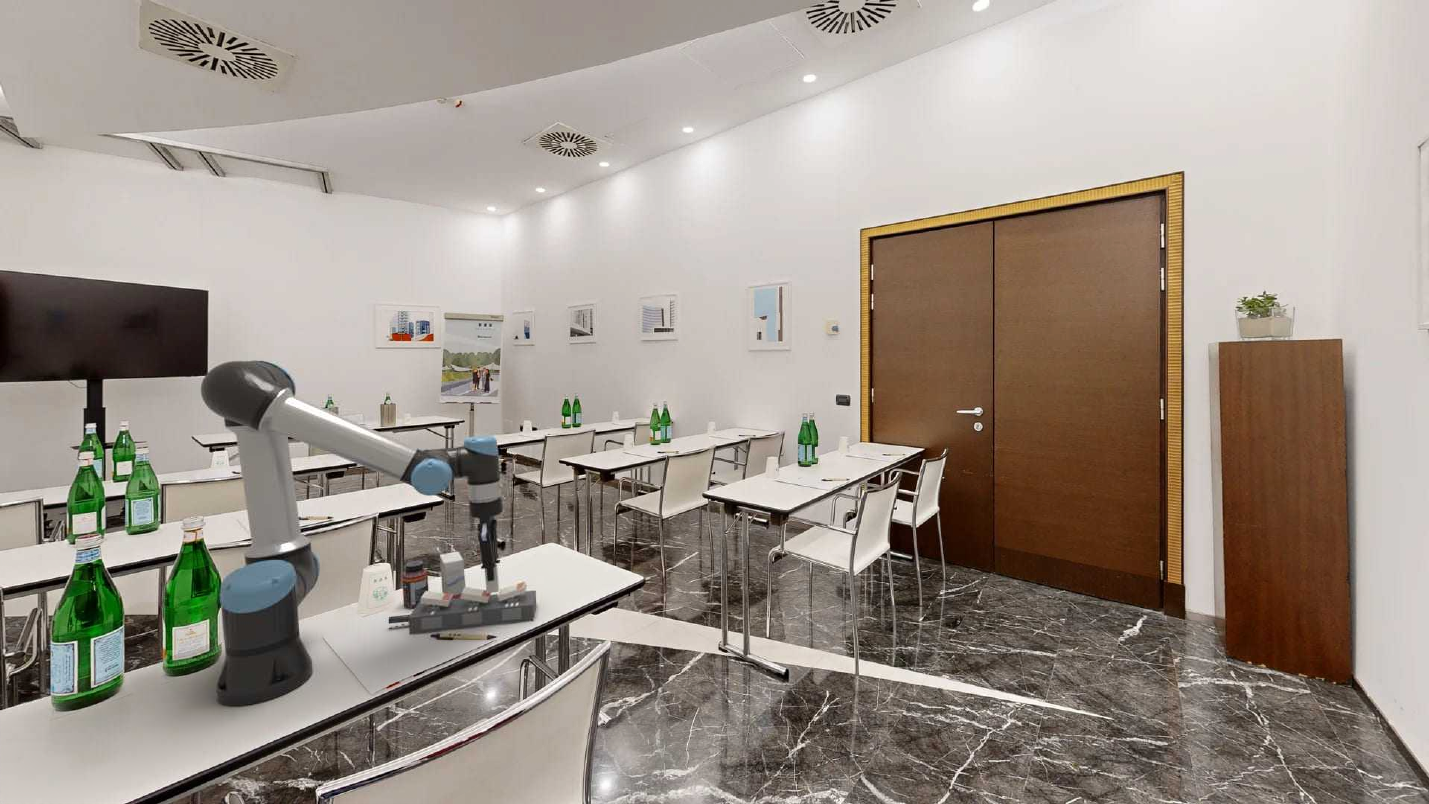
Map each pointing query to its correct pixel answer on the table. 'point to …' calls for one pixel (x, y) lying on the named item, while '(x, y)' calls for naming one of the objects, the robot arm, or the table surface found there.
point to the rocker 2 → (475, 595)
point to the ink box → (452, 574)
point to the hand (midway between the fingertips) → (492, 591)
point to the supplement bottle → (414, 583)
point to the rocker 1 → (436, 598)
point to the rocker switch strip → (469, 613)
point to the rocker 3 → (512, 591)
